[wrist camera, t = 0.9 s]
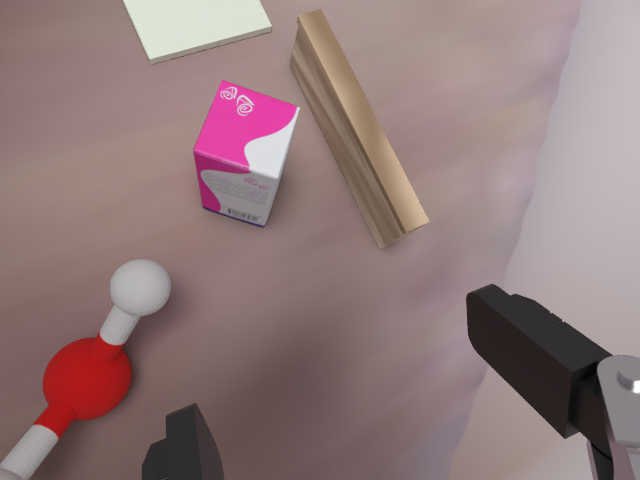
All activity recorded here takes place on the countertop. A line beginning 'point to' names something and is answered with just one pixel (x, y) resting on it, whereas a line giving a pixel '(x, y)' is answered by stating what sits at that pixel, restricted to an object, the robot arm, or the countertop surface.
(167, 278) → the molecular model
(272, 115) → the supplement box
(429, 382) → the countertop surface
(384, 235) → the wooden plank offcut
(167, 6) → the mat
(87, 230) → the countertop surface
